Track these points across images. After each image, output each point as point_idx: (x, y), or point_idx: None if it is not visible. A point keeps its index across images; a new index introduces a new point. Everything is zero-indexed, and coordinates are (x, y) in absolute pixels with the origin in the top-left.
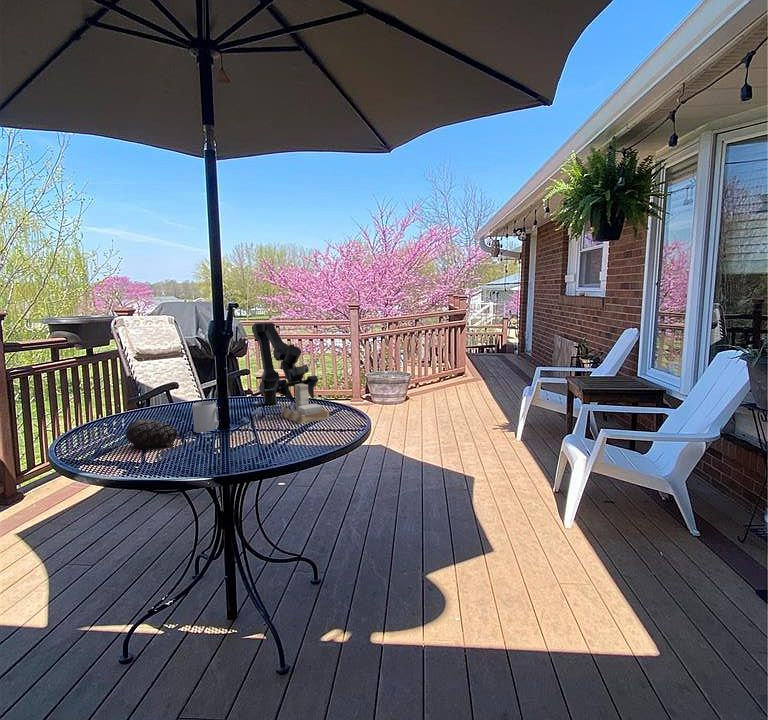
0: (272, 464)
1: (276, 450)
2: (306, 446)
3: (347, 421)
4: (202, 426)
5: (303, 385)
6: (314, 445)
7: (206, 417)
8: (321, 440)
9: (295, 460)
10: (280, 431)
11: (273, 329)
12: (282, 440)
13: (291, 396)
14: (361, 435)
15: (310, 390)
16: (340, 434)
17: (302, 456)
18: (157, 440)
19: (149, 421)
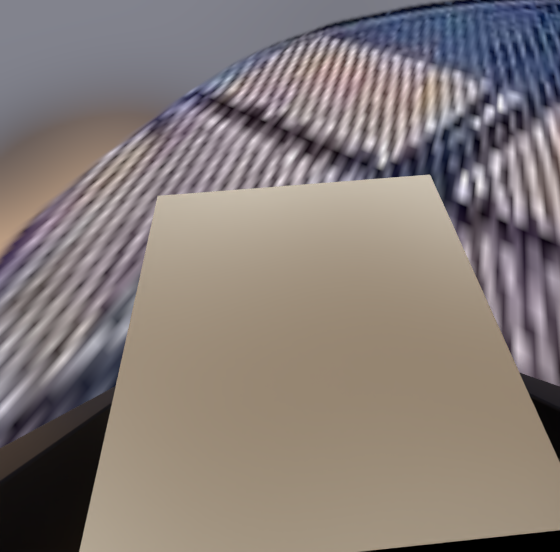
0: (535, 9)
1: (527, 59)
2: (426, 55)
3: (147, 194)
4: None
5: (300, 211)
6: (401, 53)
7: None
8: (365, 73)
9: (474, 10)
10: (512, 210)
11: None
12: (504, 114)
13: (537, 385)
14: (234, 65)
15: (22, 520)
16: (282, 90)
17: (452, 18)
18: None
19: None
